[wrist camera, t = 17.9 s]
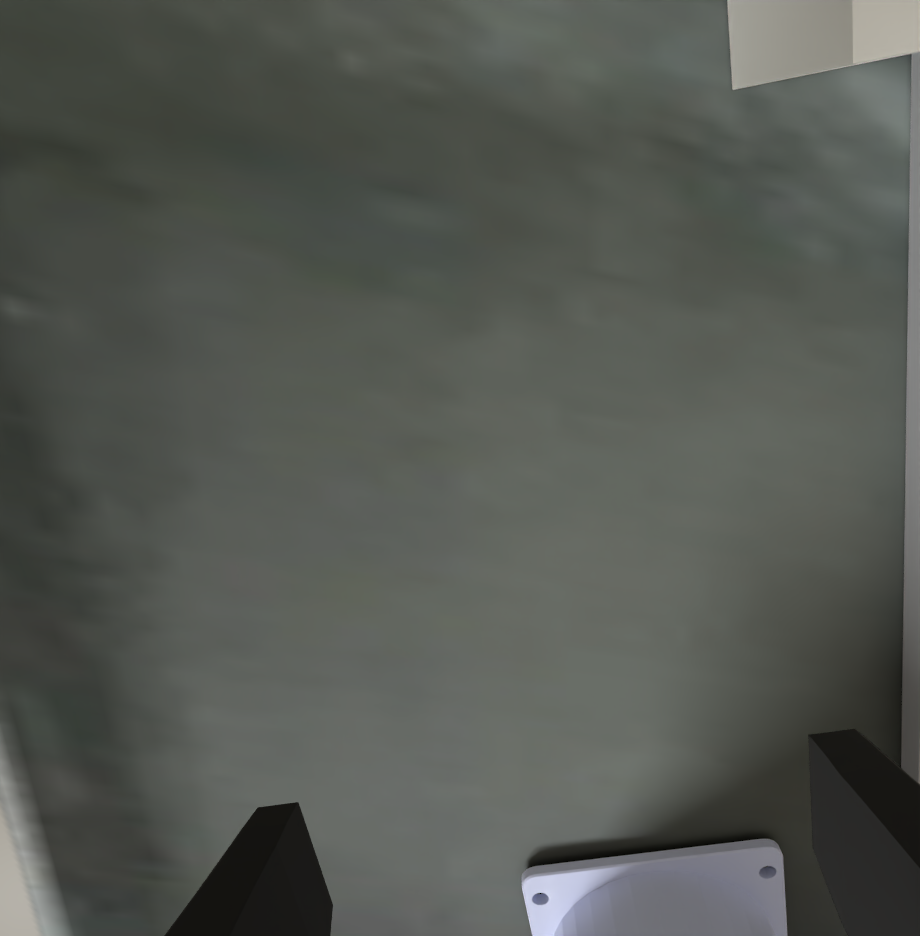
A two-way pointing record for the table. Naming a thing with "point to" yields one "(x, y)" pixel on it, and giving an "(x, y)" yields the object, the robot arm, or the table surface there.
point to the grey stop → (876, 38)
